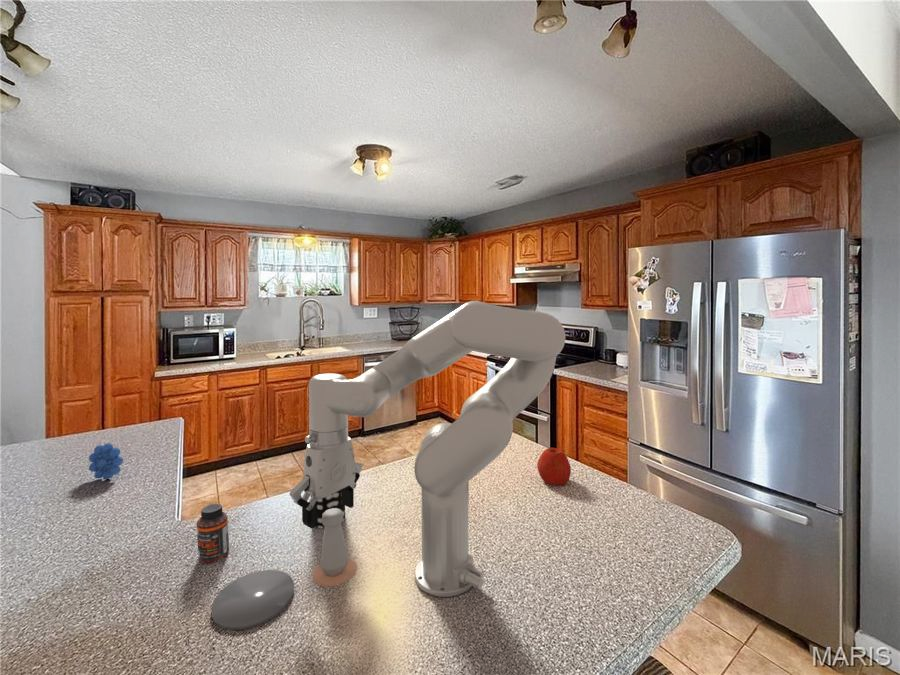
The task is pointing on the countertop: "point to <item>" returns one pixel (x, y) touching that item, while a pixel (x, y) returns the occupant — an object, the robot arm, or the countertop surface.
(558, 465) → the apple
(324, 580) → the terracotta spot
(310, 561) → the countertop surface
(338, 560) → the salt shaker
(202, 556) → the supplement bottle
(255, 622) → the slate plate
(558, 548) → the countertop surface
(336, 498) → the spotted tube
